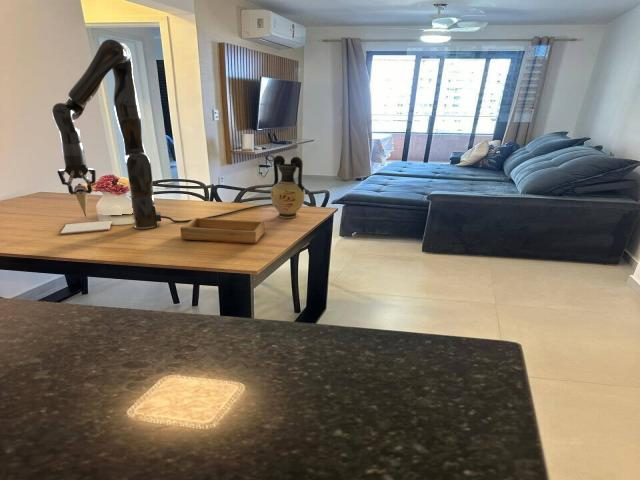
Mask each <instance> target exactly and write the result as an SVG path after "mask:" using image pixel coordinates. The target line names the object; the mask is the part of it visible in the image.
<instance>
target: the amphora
mask: <svg viewBox="0 0 640 480" xmlns="http://www.w3.org/2000/svg"><path fill="white" fill-rule="evenodd" d="M272 162H273V164H272V165H273V172H274V175H273V176H274V179H273V180H274V181H273V184H271V189H270V200H271V204H272V203H273V205H272V206H273V207H274V209H276V211H278V217H280V218H281V219H294V218H296V217H298V214H297V212H298V211H299V210H300V209H301V208H302V207H303V205H304V203H305V197H306V192H305V191H306V190H305V186H304V184H303V170H304V169H303V165H304V164H303V163H304V161H303V160H302V158H301V157H300V156H293V157H292V158H291V159H290V162H289V163H286V159H285V157H284V156H283V155H280V154H279V155H276V156H274V157H273V161H272ZM297 168H298V171H297ZM296 171H297V182H296V181H295V173H296ZM279 172H280V173H281V177H280V181H279Z"/></svg>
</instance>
